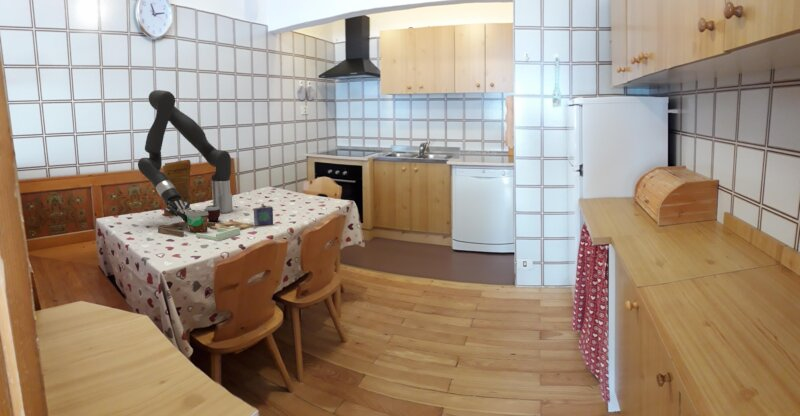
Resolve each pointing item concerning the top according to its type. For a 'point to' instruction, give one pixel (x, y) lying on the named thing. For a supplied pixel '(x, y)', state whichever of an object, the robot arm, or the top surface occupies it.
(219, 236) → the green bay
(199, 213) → the food container
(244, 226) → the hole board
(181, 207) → the robot arm
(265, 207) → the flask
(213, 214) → the mate gourd
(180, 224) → the walnut stall
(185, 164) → the pancake mix bag
